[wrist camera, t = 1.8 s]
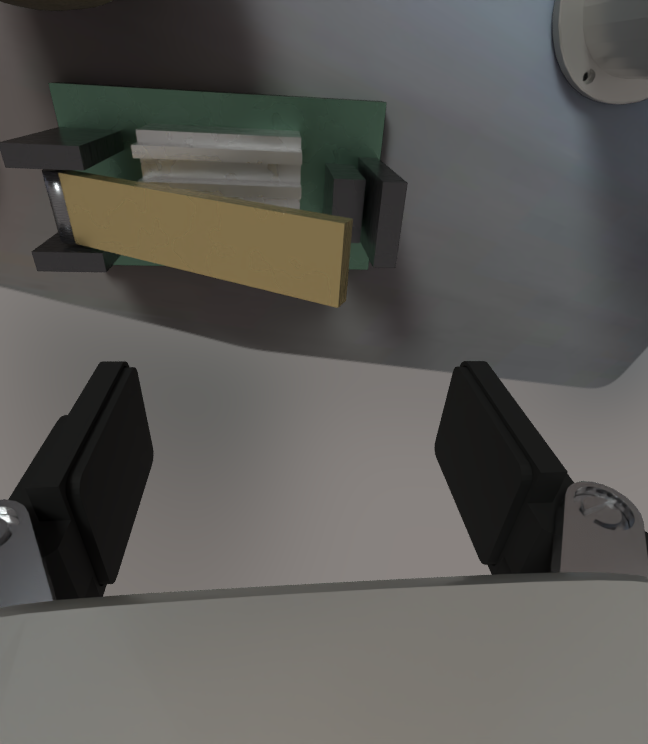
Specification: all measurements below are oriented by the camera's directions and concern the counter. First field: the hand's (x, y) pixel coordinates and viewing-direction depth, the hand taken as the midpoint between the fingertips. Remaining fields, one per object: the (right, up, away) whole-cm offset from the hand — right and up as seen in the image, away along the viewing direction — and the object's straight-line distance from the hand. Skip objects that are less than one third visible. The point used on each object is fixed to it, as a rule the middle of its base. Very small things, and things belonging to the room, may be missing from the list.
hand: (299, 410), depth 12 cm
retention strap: (-7, +9, +13) cm, 17 cm away
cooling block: (-7, +15, +23) cm, 28 cm away
